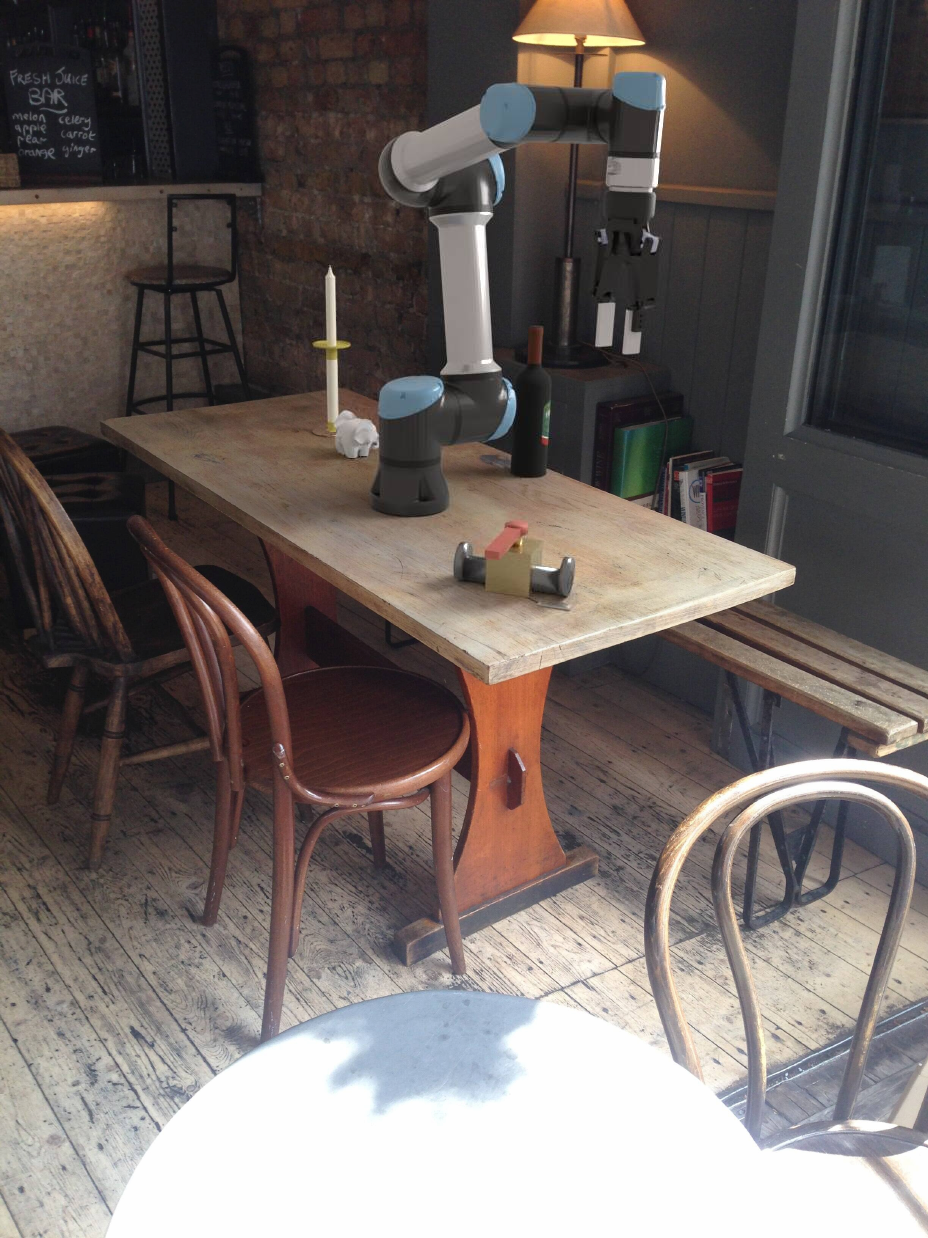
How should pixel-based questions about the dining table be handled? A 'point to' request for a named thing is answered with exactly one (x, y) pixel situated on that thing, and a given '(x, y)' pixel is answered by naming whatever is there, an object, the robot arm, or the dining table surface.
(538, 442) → the wine bottle
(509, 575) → the valve
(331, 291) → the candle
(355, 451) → the elephant figurine
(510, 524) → the lever
